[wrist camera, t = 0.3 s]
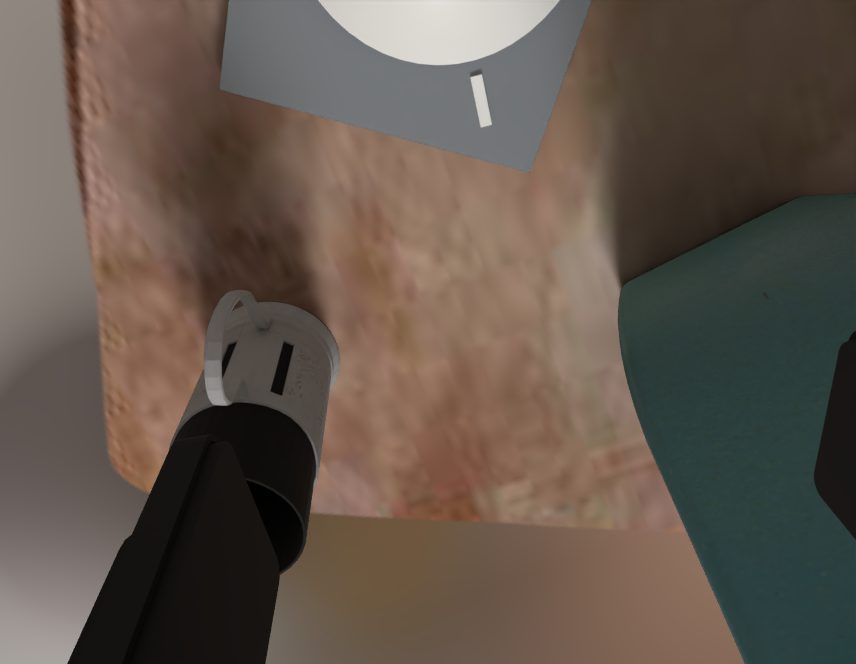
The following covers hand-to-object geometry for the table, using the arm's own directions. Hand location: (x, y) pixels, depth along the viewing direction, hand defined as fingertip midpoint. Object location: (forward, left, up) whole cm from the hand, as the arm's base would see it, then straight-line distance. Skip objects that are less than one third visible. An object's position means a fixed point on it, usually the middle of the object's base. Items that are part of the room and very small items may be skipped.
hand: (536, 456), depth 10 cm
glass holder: (+16, -6, -29) cm, 34 cm away
